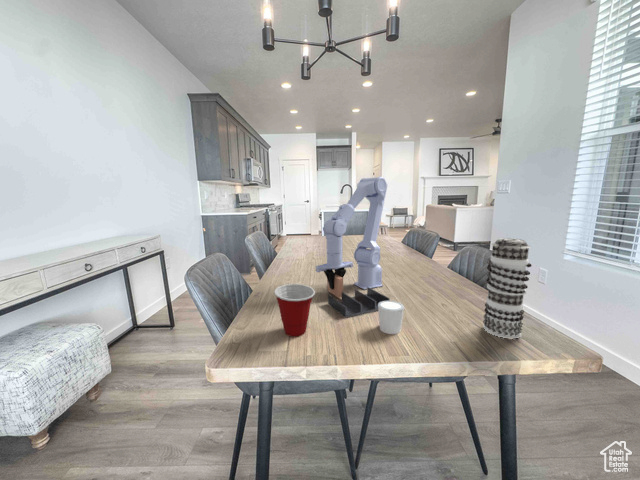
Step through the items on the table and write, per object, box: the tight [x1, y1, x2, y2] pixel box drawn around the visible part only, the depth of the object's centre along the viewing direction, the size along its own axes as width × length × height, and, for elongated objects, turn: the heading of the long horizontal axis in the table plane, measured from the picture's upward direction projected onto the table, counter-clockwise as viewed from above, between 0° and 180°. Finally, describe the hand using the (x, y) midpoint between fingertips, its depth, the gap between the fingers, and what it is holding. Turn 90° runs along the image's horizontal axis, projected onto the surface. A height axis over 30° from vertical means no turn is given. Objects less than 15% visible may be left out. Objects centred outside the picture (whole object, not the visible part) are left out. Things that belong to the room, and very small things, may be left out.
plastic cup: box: [274, 283, 316, 338], centre depth 69 cm, size 11×11×12 cm
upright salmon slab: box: [326, 274, 344, 299], centre depth 96 cm, size 2×9×7 cm, turn 25°
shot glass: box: [377, 300, 405, 335], centre depth 71 cm, size 7×7×7 cm
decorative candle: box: [482, 237, 532, 339], centre depth 67 cm, size 9×9×25 cm
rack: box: [327, 287, 391, 319], centre depth 86 cm, size 17×12×3 cm
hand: (334, 288), depth 96 cm, fingers closed on upright salmon slab, 2 cm apart
